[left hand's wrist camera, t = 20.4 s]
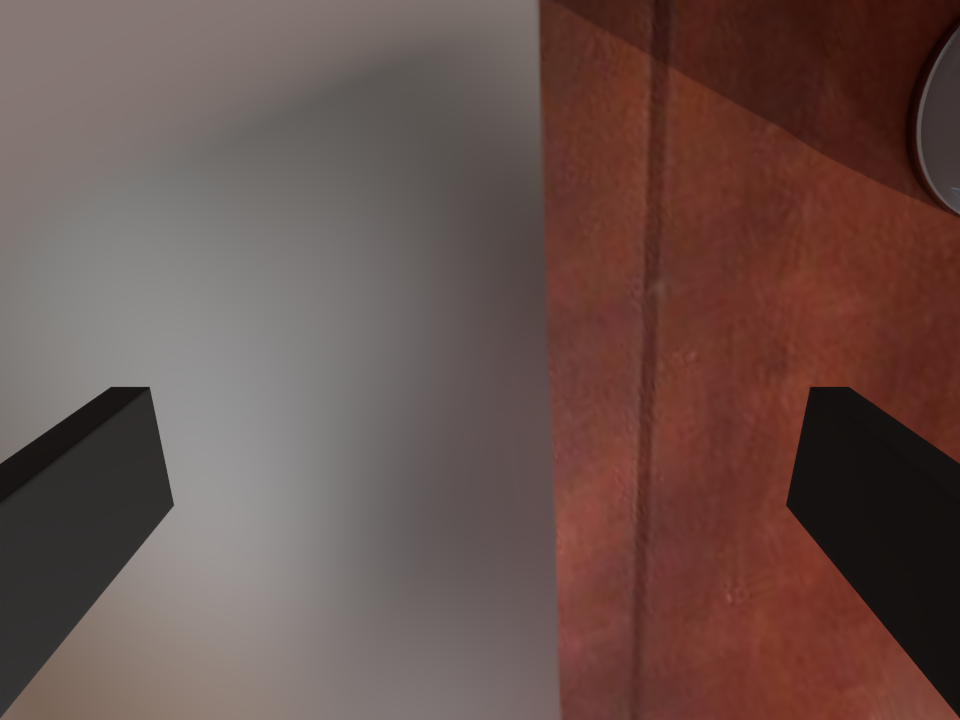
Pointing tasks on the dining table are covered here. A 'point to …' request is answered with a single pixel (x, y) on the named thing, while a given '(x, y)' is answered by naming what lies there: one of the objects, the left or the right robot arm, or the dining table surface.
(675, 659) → the dining table surface
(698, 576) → the dining table surface
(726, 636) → the dining table surface
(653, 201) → the dining table surface
